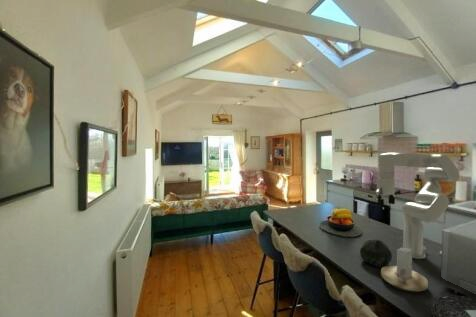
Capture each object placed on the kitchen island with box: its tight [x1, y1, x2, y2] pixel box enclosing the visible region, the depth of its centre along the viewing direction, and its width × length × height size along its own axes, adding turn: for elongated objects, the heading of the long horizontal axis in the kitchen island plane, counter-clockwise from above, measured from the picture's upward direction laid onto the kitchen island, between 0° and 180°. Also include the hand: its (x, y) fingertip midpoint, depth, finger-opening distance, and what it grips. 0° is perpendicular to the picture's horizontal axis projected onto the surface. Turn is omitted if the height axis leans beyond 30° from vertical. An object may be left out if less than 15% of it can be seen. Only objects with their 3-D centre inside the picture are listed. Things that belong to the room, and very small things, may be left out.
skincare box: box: [396, 246, 413, 278], centre depth 109 cm, size 6×4×12 cm
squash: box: [359, 239, 393, 268], centre depth 127 cm, size 14×15×15 cm
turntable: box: [380, 265, 429, 292], centre depth 109 cm, size 18×18×8 cm
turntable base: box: [387, 282, 421, 293], centre depth 109 cm, size 14×14×2 cm
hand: (386, 204), depth 131 cm, fingers open, 9 cm apart
